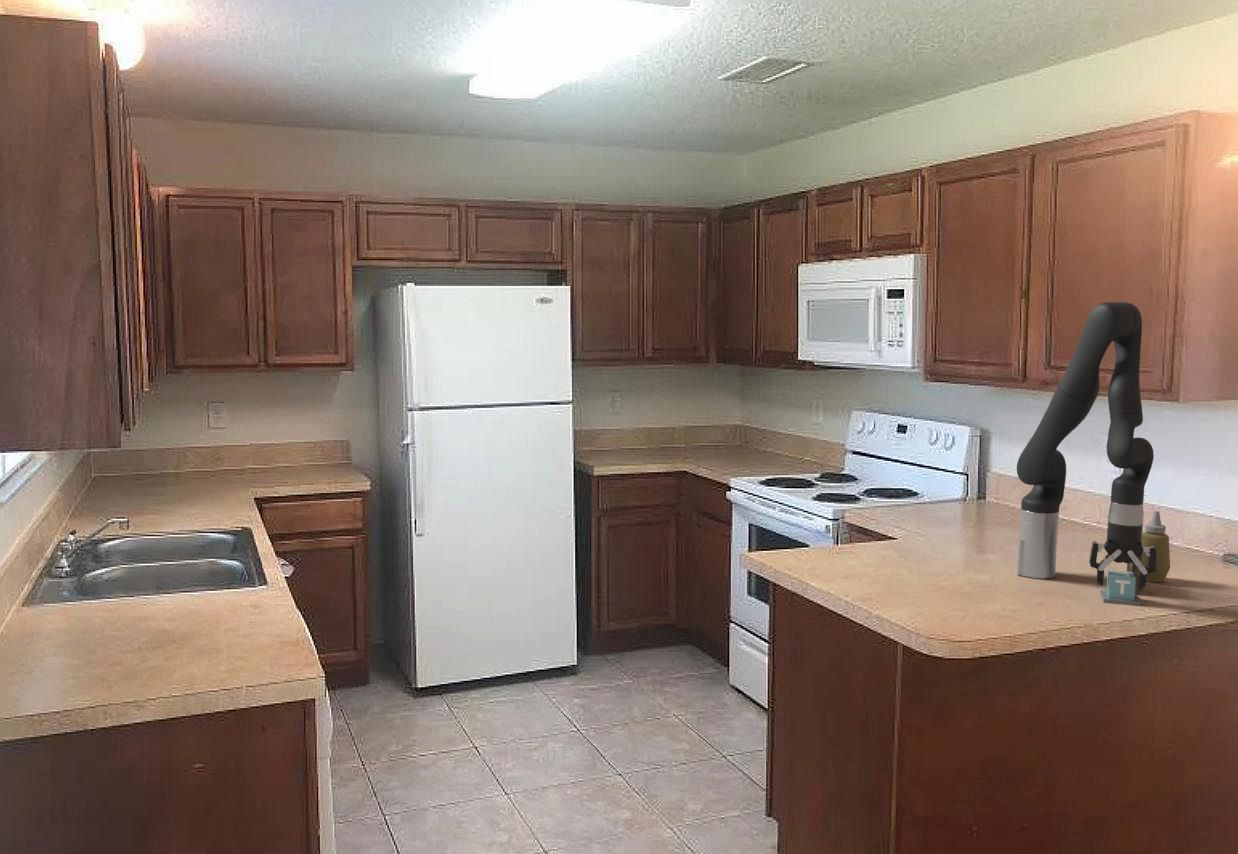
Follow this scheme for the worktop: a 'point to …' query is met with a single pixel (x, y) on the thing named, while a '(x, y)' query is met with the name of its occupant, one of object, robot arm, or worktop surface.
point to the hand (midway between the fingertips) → (1120, 586)
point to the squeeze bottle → (1160, 543)
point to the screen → (1135, 570)
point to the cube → (1120, 585)
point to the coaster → (1119, 601)
